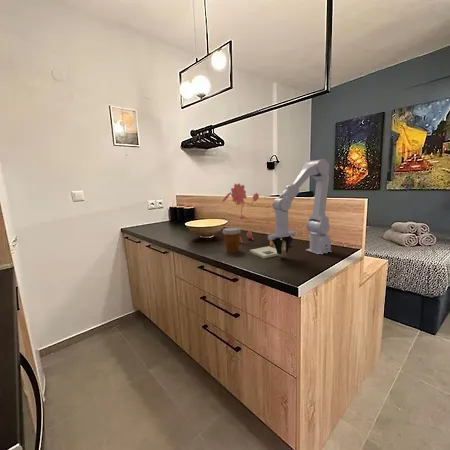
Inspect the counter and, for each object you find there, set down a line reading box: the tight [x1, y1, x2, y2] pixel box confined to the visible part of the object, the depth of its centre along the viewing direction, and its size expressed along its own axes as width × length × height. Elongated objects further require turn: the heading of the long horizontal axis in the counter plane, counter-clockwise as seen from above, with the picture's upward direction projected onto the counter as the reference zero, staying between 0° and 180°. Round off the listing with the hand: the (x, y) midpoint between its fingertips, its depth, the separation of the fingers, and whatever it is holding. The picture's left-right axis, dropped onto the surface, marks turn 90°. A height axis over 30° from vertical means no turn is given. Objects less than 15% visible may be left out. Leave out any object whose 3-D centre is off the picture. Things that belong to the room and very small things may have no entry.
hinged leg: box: [269, 238, 282, 249], centre depth 136 cm, size 11×2×5 cm, turn 114°
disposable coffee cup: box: [222, 226, 242, 254], centre depth 133 cm, size 10×10×12 cm
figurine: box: [221, 183, 260, 244], centre depth 153 cm, size 15×26×35 cm, turn 128°
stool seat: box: [249, 245, 279, 259], centre depth 126 cm, size 13×12×1 cm
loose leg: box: [278, 241, 287, 258], centre depth 116 cm, size 3×3×7 cm
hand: (282, 252), depth 117 cm, fingers closed on loose leg, 3 cm apart
